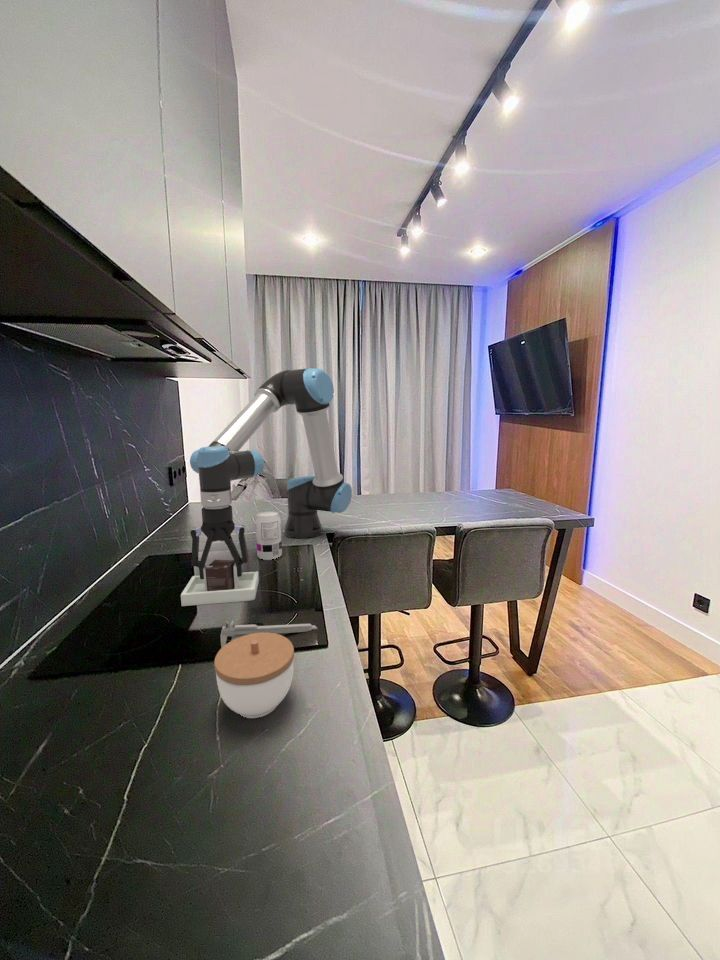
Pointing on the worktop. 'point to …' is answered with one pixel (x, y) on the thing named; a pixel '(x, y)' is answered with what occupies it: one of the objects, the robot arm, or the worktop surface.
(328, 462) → the robot arm
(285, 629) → the caliper
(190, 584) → the tray
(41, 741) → the worktop surface
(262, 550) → the supplement can
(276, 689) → the lidded bowl
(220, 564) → the box
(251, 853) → the worktop surface
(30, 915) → the worktop surface
